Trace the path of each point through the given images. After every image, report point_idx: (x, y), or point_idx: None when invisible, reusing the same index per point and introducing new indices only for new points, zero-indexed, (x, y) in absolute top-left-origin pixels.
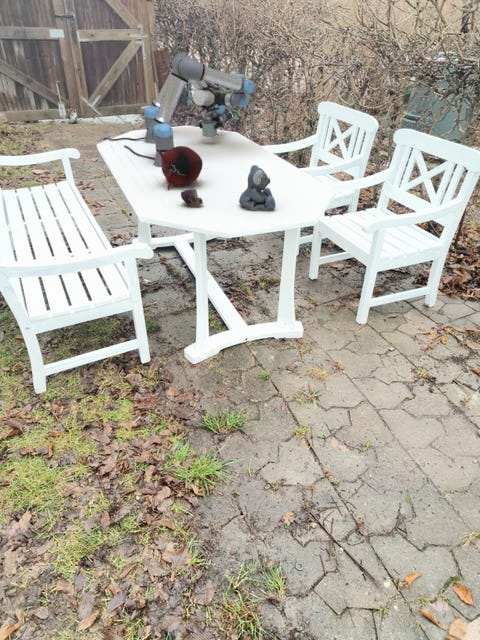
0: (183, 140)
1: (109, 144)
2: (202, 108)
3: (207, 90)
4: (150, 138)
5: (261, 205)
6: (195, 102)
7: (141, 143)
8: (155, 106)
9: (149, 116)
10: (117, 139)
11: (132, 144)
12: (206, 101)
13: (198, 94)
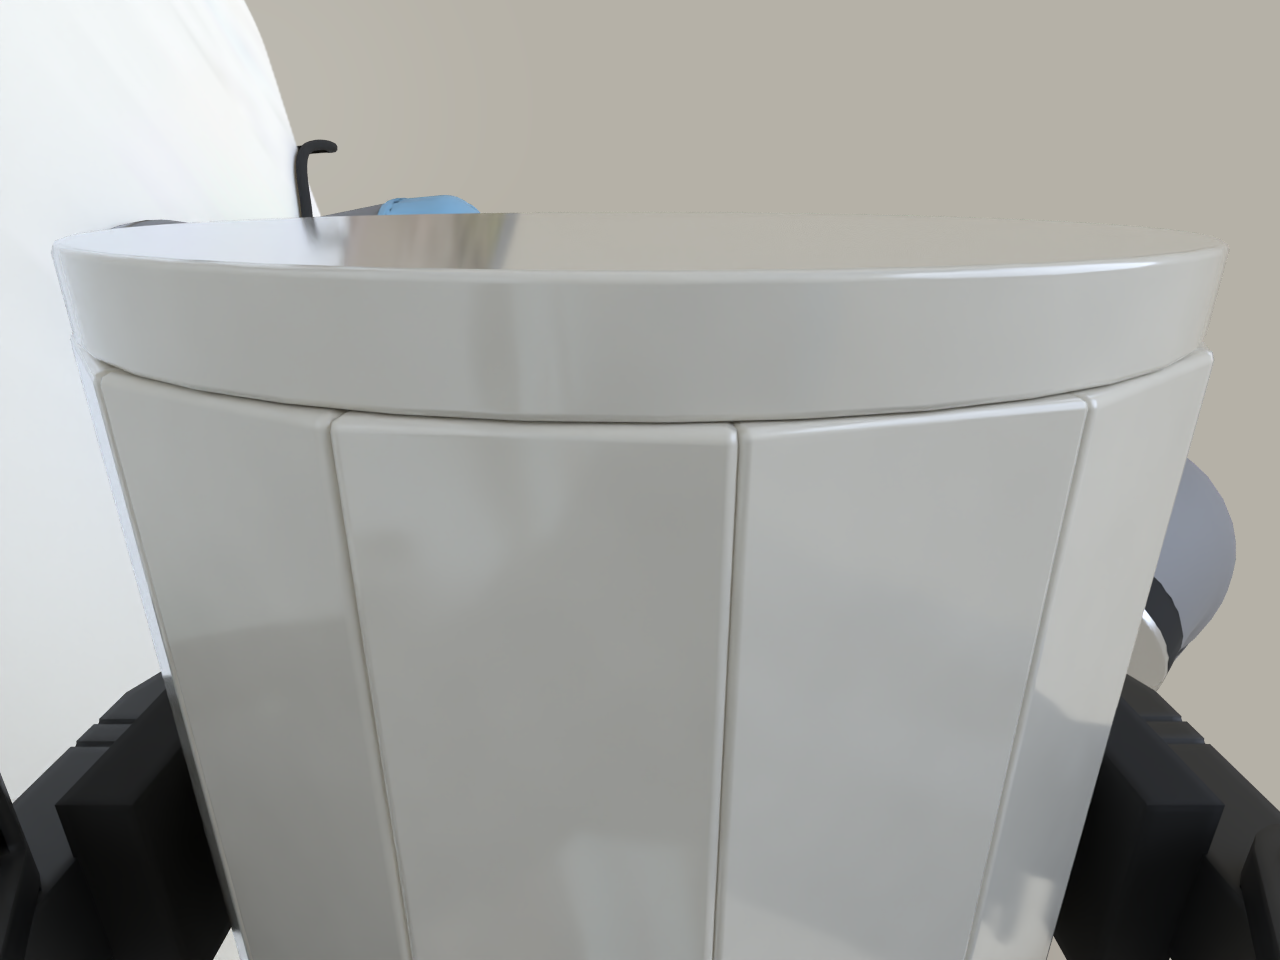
0: (27, 613)
1: (230, 23)
2: (141, 686)
3: (1105, 953)
4: (167, 222)
5: None
6: (400, 215)
7: (148, 167)
8: None
9: (402, 202)
10: (299, 175)
11: (154, 89)
12: (304, 767)
13: (815, 222)
